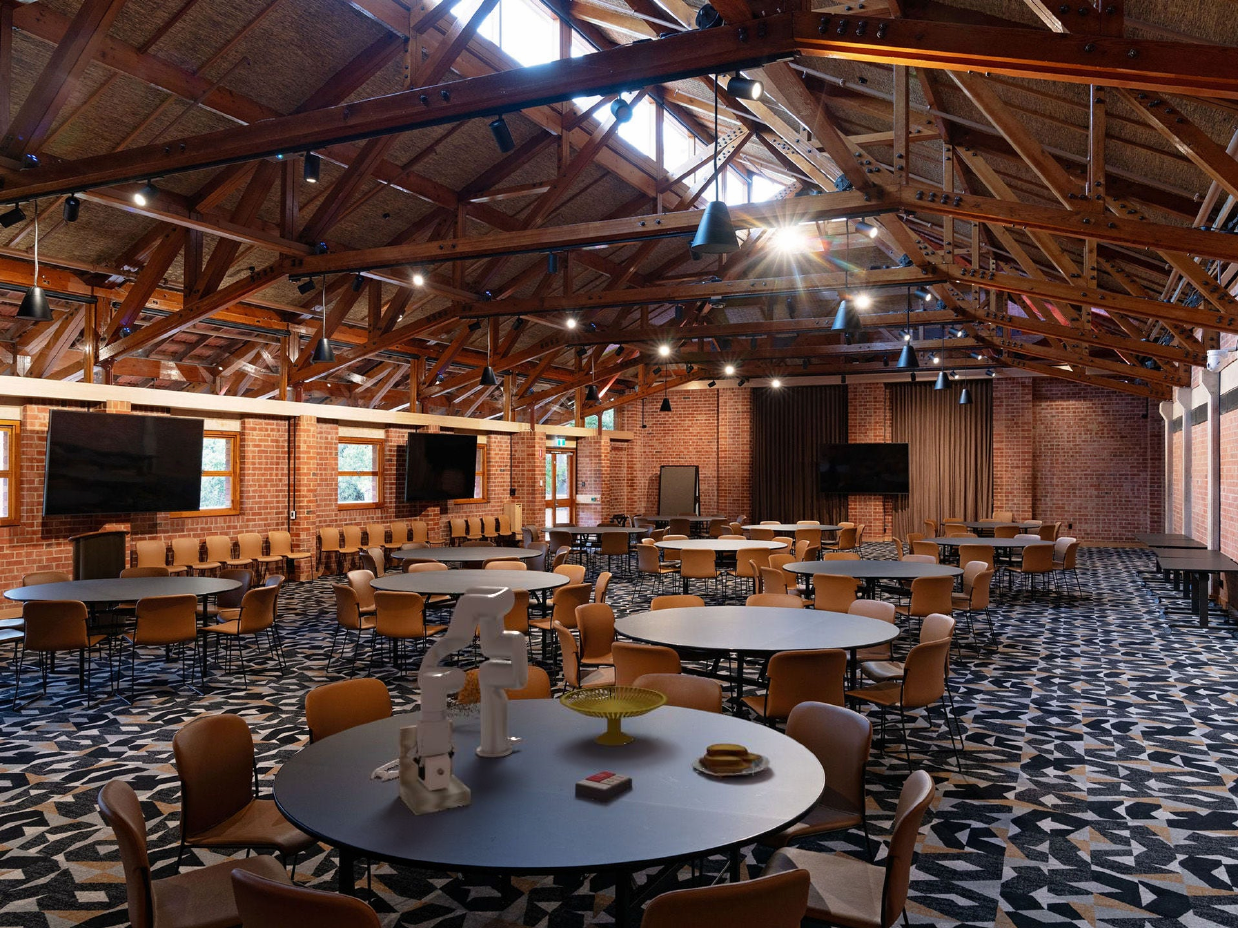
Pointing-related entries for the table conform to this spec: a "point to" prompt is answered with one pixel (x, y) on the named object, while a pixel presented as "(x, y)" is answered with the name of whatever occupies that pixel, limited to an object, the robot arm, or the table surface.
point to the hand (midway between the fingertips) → (433, 776)
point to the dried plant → (465, 697)
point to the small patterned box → (603, 786)
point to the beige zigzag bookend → (416, 791)
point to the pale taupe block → (436, 772)
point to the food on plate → (730, 761)
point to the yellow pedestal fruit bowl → (613, 709)
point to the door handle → (385, 774)
